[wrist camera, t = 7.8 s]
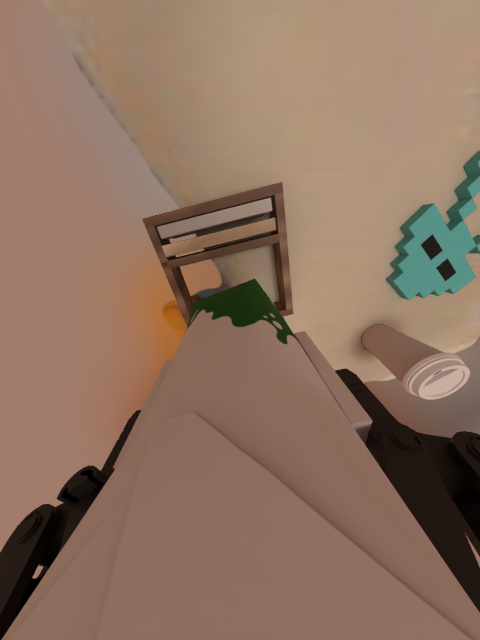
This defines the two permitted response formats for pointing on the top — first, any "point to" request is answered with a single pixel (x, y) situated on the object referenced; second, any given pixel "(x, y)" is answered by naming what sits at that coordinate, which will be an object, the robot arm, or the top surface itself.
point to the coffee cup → (416, 363)
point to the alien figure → (438, 245)
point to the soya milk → (247, 512)
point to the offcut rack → (275, 238)
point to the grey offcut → (216, 219)
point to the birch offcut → (219, 237)
